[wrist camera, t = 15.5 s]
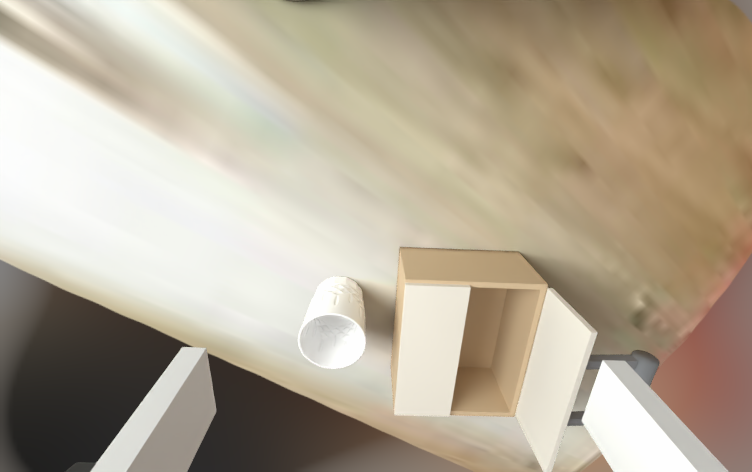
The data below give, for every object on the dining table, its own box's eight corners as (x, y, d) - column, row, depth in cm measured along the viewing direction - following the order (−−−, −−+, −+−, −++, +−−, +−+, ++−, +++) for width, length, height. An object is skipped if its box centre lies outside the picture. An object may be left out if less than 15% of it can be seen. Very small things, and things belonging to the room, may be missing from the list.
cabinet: (399, 247, 48) (405, 282, 39) (518, 251, 49) (550, 287, 40) (390, 365, 56) (394, 417, 47) (493, 368, 56) (516, 420, 47)
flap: (591, 332, 33) (695, 332, 34) (547, 288, 40) (633, 288, 41) (545, 475, 40) (631, 472, 41) (515, 415, 48) (588, 413, 48)
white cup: (357, 325, 53) (354, 375, 44) (305, 311, 52) (290, 359, 43) (374, 280, 50) (375, 324, 41) (319, 265, 49) (307, 305, 40)
